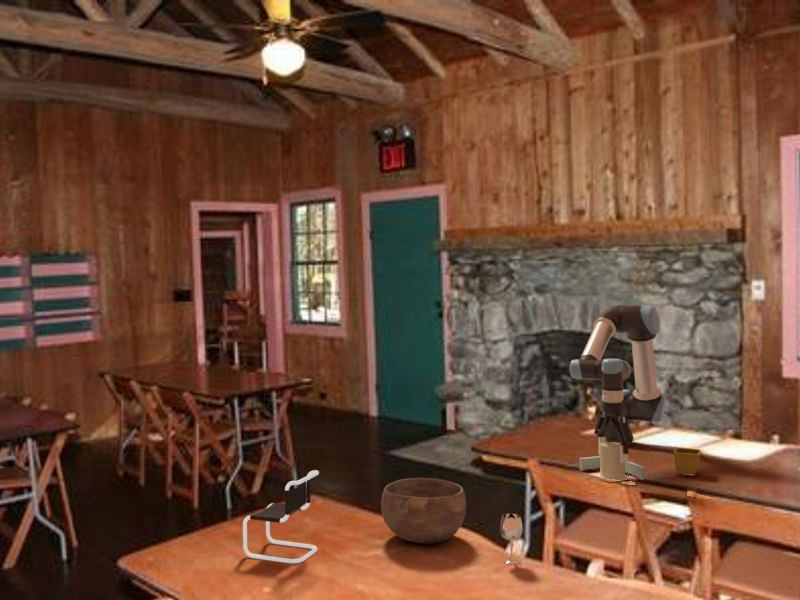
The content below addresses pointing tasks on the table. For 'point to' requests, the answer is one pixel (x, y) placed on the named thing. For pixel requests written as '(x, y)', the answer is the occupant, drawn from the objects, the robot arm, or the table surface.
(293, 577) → the table surface
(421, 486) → the bowl
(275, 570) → the table surface
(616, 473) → the can
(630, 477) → the tile
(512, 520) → the wineglass
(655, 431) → the table surface
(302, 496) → the chair
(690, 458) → the flower pot
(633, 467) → the fence
